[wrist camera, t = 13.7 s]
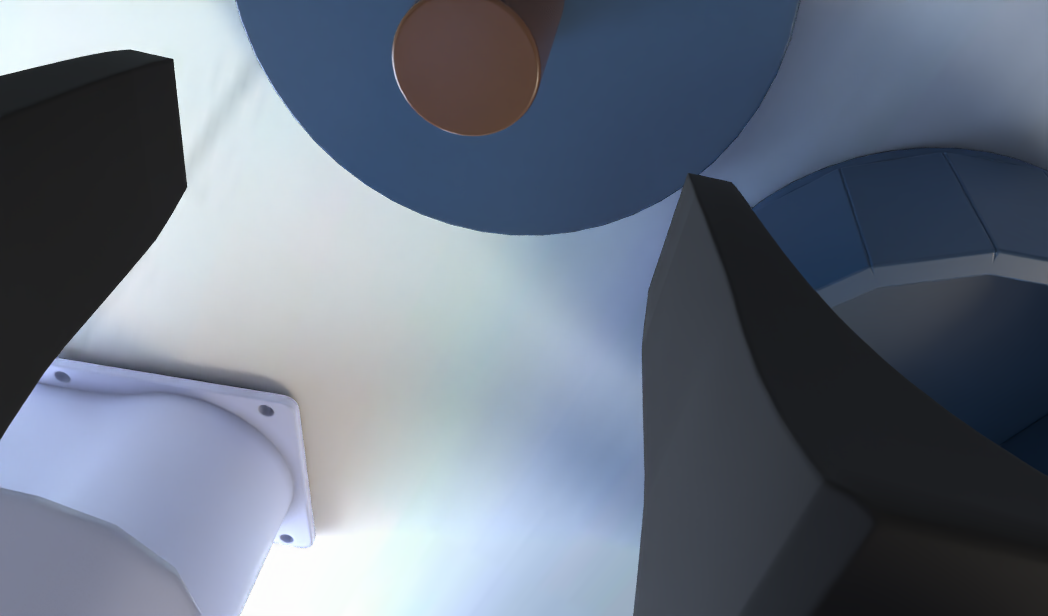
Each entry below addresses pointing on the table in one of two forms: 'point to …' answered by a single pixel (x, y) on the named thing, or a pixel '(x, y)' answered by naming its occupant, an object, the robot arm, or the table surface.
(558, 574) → the table surface
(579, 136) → the lid
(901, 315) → the tin
